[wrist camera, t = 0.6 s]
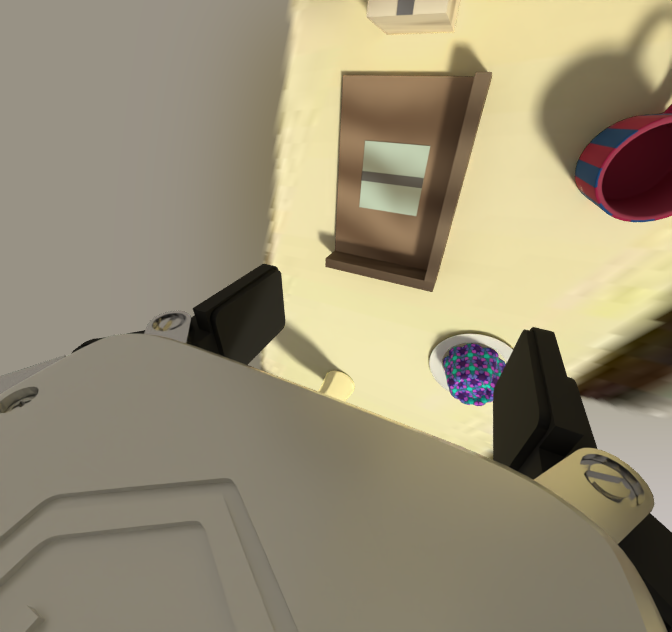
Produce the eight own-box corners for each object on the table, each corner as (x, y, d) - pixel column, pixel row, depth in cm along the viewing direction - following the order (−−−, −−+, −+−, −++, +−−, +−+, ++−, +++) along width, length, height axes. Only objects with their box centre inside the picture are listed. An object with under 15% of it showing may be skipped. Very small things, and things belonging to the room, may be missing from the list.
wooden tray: (345, 75, 30) (330, 71, 27) (491, 77, 26) (491, 72, 23) (336, 257, 41) (325, 266, 39) (436, 279, 37) (432, 292, 34)
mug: (556, 179, 27) (571, 193, 22) (676, 46, 21) (737, 20, 16) (620, 216, 27) (651, 239, 22) (763, 91, 20) (856, 80, 15)
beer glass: (317, 376, 57) (273, 440, 46) (337, 362, 52) (295, 429, 41) (342, 400, 58) (305, 469, 46) (364, 388, 53) (330, 461, 42)
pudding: (450, 401, 47) (446, 427, 43) (416, 343, 44) (408, 365, 40) (536, 390, 40) (541, 420, 36) (502, 319, 37) (504, 344, 33)
